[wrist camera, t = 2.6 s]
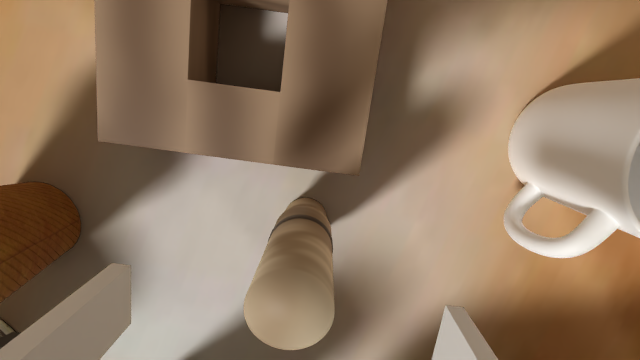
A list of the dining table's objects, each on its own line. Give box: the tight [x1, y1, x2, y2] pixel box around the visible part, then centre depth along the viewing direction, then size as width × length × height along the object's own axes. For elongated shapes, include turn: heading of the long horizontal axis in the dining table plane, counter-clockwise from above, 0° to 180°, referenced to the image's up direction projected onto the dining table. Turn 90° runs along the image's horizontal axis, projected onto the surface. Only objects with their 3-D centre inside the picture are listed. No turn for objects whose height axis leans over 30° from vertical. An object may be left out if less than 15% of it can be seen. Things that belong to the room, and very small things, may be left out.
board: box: [95, 0, 388, 176], centre depth 21 cm, size 16×14×5 cm
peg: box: [244, 198, 335, 350], centre depth 20 cm, size 4×4×12 cm
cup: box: [504, 78, 640, 258], centre depth 20 cm, size 8×12×10 cm
